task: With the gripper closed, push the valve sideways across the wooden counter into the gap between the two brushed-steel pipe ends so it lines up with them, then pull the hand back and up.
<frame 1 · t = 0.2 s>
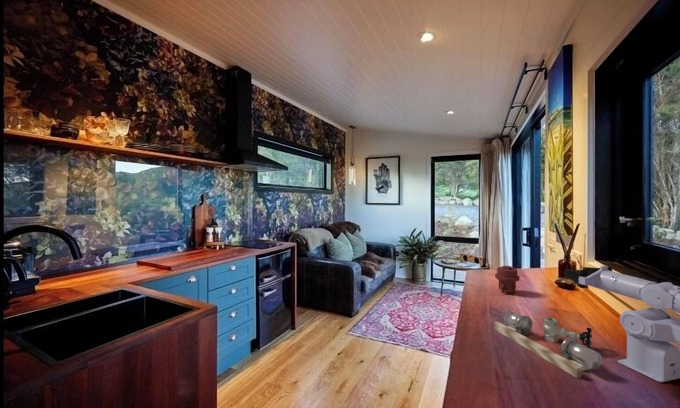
hand: (574, 271, 98), 21 cm above the countertop, tool horizontal, fingers open, 7 cm apart
mechanical component: (507, 293, 142), on the countertop
valve: (565, 344, 94), on the countertop
pipe line: (545, 346, 92), on the countertop
backing rail: (530, 345, 91), on the countertop
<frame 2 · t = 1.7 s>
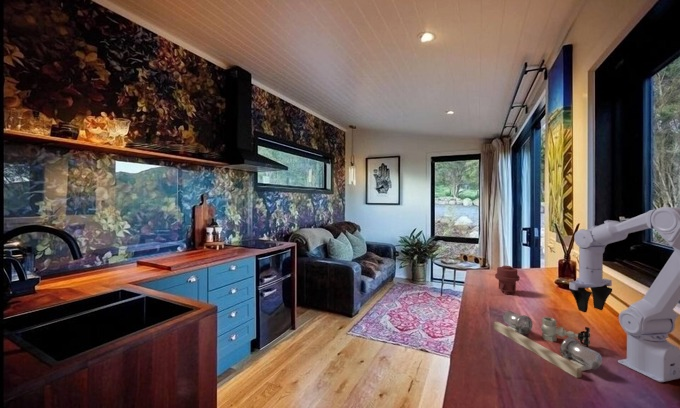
hand: (590, 310, 96), 9 cm above the countertop, tool pointing down, fingers open, 6 cm apart
nothing on the countertop moved.
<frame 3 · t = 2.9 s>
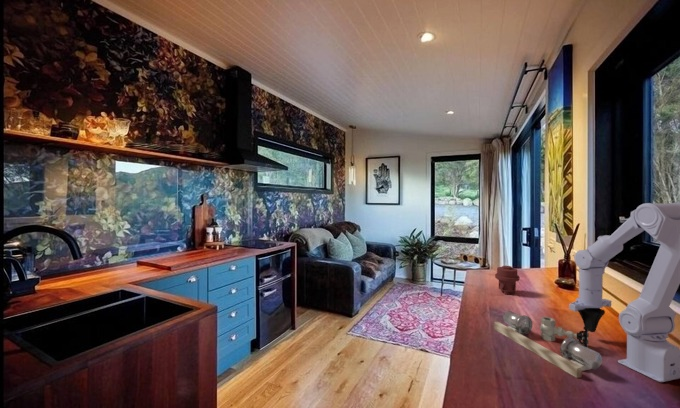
hand: (590, 330, 96), 3 cm above the countertop, tool pointing down, fingers closed
nothing on the countertop moved.
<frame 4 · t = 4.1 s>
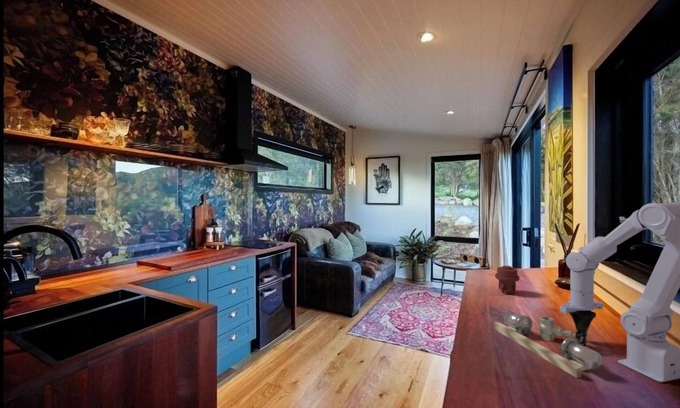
hand: (581, 333, 96), 2 cm above the countertop, tool pointing down, fingers closed
valve: (561, 343, 95), on the countertop, touching gripper
everything else where it was.
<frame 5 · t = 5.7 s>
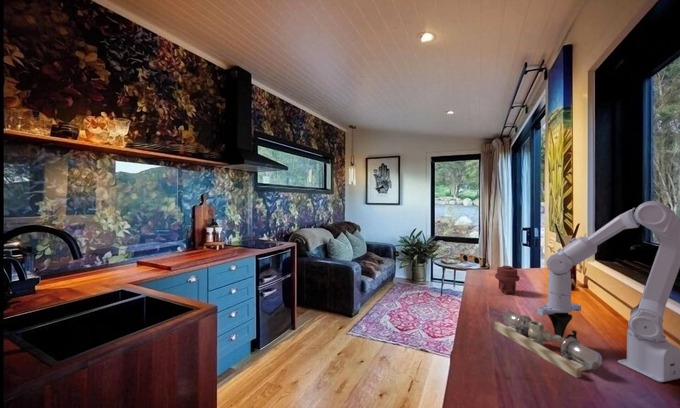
hand: (558, 335, 94), 3 cm above the countertop, tool pointing down, fingers closed, pressing on valve
valve: (551, 348, 92), on the countertop, touching gripper, pipe line
everything else where it was.
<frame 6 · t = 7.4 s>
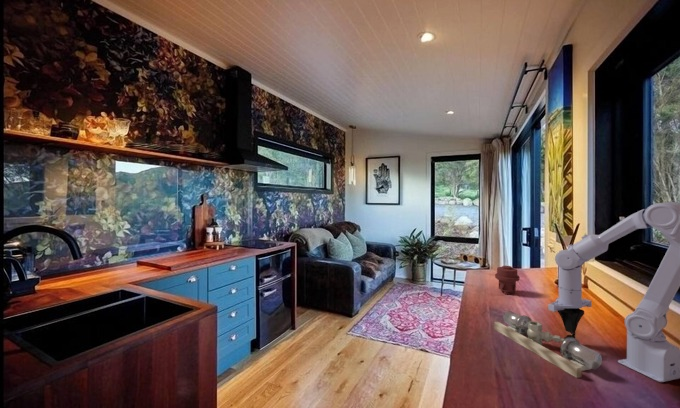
hand: (570, 331, 94), 4 cm above the countertop, tool pointing down, fingers closed
valve: (550, 348, 92), on the countertop
everything else where it was.
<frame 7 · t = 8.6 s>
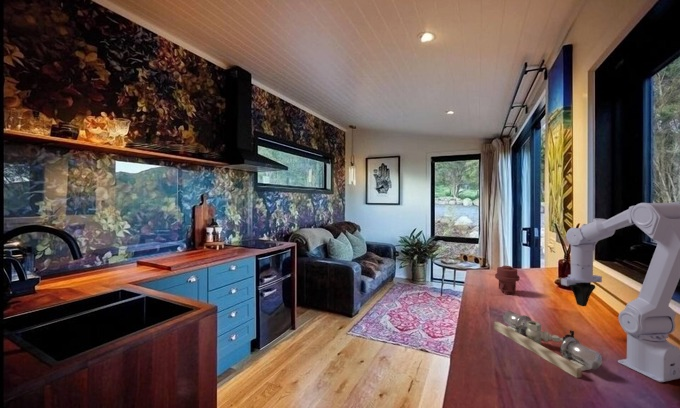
hand: (581, 305, 100), 9 cm above the countertop, tool pointing down, fingers closed
nothing on the countertop moved.
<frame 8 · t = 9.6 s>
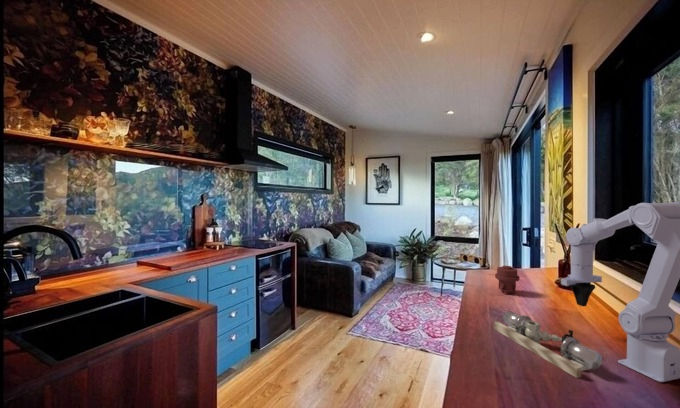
hand: (581, 305, 100), 9 cm above the countertop, tool pointing down, fingers closed
nothing on the countertop moved.
at the end: valve 0.9 cm off-centre on the pipe line, point 0.0 cm above the pipe line's base; valve tilted 0°; valve moved 7.1 cm from its start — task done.
